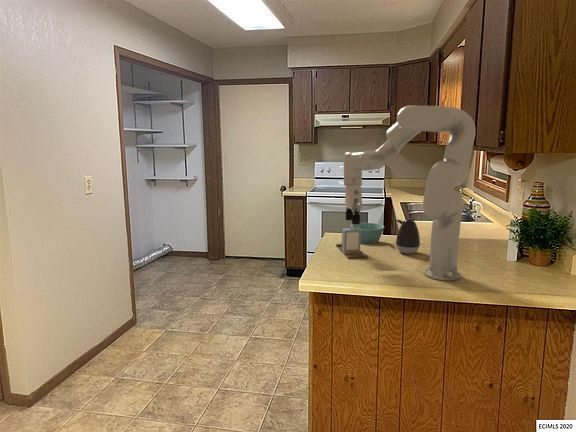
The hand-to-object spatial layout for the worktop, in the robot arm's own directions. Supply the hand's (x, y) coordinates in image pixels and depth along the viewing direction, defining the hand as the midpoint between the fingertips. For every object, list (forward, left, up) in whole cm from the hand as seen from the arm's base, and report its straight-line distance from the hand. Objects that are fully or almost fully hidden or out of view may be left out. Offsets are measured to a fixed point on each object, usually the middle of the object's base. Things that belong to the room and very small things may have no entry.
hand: (352, 222), depth 177 cm
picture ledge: (0, 0, -15) cm, 15 cm away
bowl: (+21, -14, -15) cm, 29 cm away
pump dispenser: (+1, -26, -15) cm, 30 cm away
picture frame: (0, 0, -13) cm, 13 cm away
